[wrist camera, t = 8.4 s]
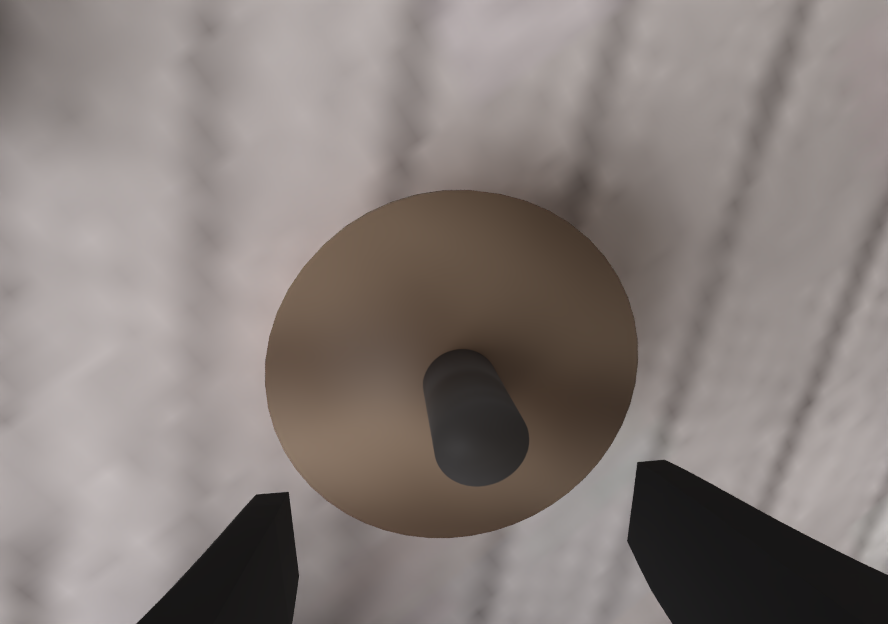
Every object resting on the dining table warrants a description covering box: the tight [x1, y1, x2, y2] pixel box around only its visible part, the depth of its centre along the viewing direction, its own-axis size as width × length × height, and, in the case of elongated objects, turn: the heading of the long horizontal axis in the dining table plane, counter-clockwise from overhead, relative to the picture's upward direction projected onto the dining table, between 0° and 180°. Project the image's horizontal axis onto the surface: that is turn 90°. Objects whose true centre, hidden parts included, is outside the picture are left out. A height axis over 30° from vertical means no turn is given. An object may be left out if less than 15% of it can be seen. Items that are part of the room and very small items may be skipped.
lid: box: [265, 190, 638, 538], centre depth 13 cm, size 12×12×4 cm
